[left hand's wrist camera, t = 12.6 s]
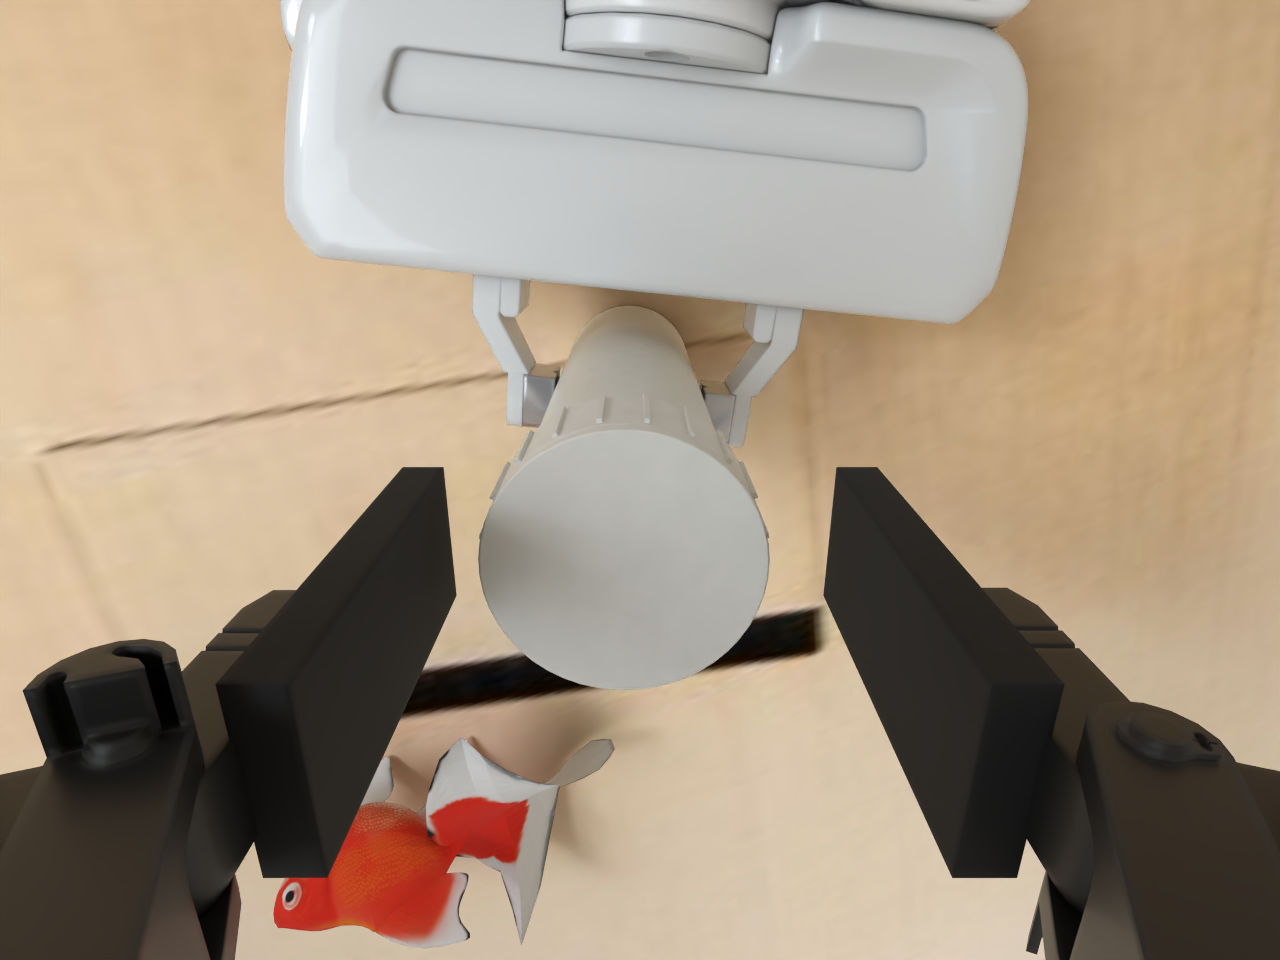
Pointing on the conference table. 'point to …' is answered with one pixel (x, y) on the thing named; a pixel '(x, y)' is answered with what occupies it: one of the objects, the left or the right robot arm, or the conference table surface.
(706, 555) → the lid
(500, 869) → the fish
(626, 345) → the white bottle
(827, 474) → the conference table surface
